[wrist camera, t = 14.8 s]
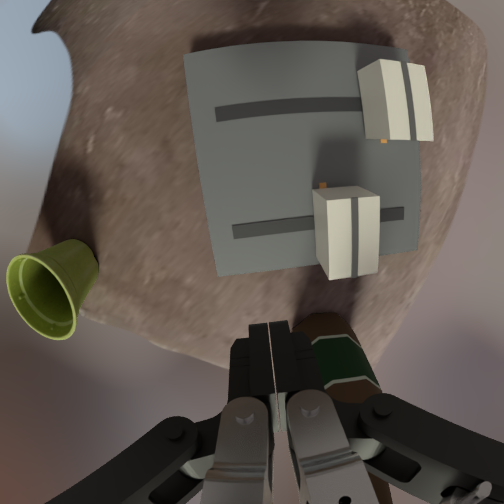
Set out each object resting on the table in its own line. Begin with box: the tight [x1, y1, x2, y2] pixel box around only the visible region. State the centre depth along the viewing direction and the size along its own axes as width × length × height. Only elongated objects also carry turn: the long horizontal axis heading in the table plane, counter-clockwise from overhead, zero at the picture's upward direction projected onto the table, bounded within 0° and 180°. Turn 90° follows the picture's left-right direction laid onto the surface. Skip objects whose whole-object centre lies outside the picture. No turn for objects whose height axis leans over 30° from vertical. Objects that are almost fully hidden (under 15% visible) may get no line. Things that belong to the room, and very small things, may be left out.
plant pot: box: [6, 239, 99, 340], centre depth 25 cm, size 9×9×9 cm
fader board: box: [183, 41, 421, 277], centre depth 23 cm, size 20×20×3 cm
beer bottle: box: [292, 312, 393, 504], centre depth 21 cm, size 8×8×24 cm
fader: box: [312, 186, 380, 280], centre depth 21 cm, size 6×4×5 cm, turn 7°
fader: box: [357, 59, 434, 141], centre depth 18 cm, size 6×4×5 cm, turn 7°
